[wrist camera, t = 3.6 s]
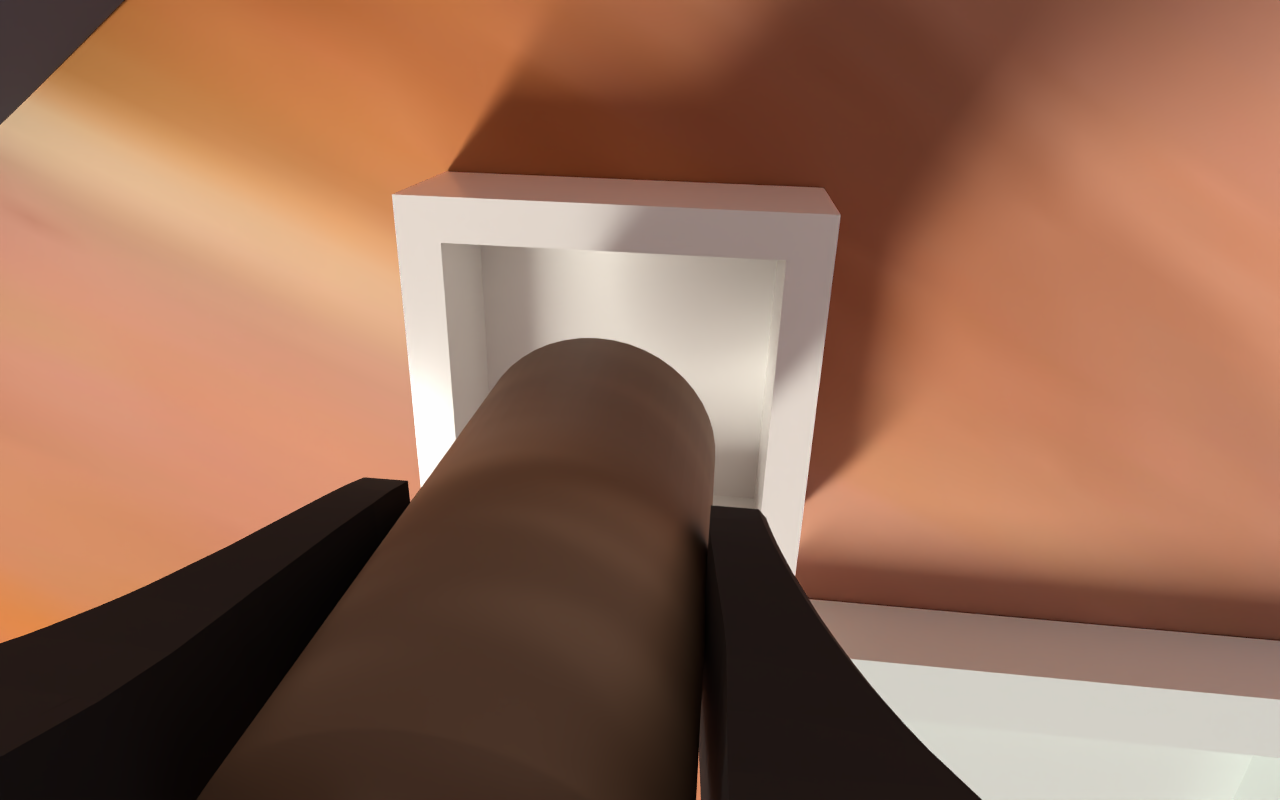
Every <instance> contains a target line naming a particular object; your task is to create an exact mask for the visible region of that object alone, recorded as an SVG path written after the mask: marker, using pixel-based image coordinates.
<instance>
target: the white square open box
mask: <svg viewBox="0 0 1280 800" xmlns="http://www.w3.org/2000/svg"><path fill="white" fill-rule="evenodd" d="M392 199H393V209H394V220H395V230H396V240H397V250H398V260H399V270H400V280H401V291H402V301H403V311H404V321H405V331H406V341H407V351H408V361H409V372H410V382H411V392H412V402H413V412H414V422H415V432H416V442H417V453H418V463H419V473H420V483H421V487H422V486H423V484H424V483H425V481H426V480H427V479H428V477H429V476H430V475H431V473H432V472H433V470H434V469H435V468H436V466H437V465H438V463H439V462H440V461H441V459H442V458H443V457H444V455H445V454H446V452H447V451H448V450H449V448H450V447H451V445H452V444H453V443H454V441H455V440H456V439H457V437H458V436H459V434H460V433H461V432H462V430H463V429H464V427H465V426H466V425H467V423H468V422H469V421H470V419H471V418H472V416H473V415H474V414H475V412H476V411H477V409H478V408H479V407H480V405H481V404H482V403H483V401H484V400H485V398H486V397H487V396H488V394H489V393H490V391H491V390H492V389H493V387H494V386H495V385H496V383H497V382H498V380H499V379H500V378H501V376H502V375H503V374H504V373H505V372H506V371H507V370H508V369H509V368H510V367H511V366H512V365H513V364H515V363H516V362H517V361H518V360H520V359H521V358H522V357H524V356H526V355H527V354H529V353H531V352H532V351H534V350H536V349H539V348H541V347H543V346H546V345H548V344H551V343H555V342H559V341H563V340H569V339H577V338H601V339H609V340H615V341H619V342H623V343H627V344H630V345H633V346H635V347H638V348H640V349H643V350H645V351H647V352H649V353H651V354H653V355H655V356H656V357H658V358H660V359H661V360H663V361H664V362H665V363H667V364H668V365H670V366H671V367H672V368H674V369H675V370H676V371H677V372H678V373H679V374H680V375H681V376H682V377H683V378H684V379H685V380H686V381H687V382H688V383H689V385H690V386H691V387H692V388H693V389H694V391H695V392H696V394H697V395H698V397H699V398H700V400H701V402H702V403H703V405H704V408H705V410H706V412H707V414H708V416H709V419H710V422H711V426H712V429H713V434H714V441H715V472H714V490H713V506H725V507H738V508H750V509H759V510H760V511H761V512H762V514H763V515H764V516H765V517H766V519H767V522H768V524H769V527H770V529H771V531H772V534H773V536H774V538H775V540H776V542H777V544H778V546H779V548H780V550H781V552H782V554H783V556H784V557H785V559H786V561H787V563H788V565H789V567H790V569H791V570H792V572H793V574H794V576H795V574H796V566H797V558H798V550H799V542H800V534H801V526H802V518H803V511H804V503H805V495H806V487H807V479H808V471H809V463H810V455H811V447H812V439H813V431H814V423H815V415H816V407H817V399H818V392H819V384H820V376H821V368H822V360H823V352H824V344H825V336H826V328H827V320H828V312H829V304H830V296H831V288H832V280H833V273H834V265H835V257H836V249H837V241H838V233H839V225H840V217H841V215H840V213H839V211H838V210H837V208H836V207H835V205H834V203H833V202H832V200H831V199H830V197H829V195H828V194H827V192H826V190H825V189H824V188H818V187H795V186H772V185H748V184H725V183H702V182H678V181H655V180H632V179H609V178H585V177H562V176H539V175H515V174H492V173H469V172H444V173H441V174H439V175H436V176H434V177H432V178H429V179H427V180H425V181H422V182H420V183H418V184H415V185H413V186H411V187H408V188H406V189H403V190H401V191H399V192H396V193H394V194H392Z"/></svg>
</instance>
